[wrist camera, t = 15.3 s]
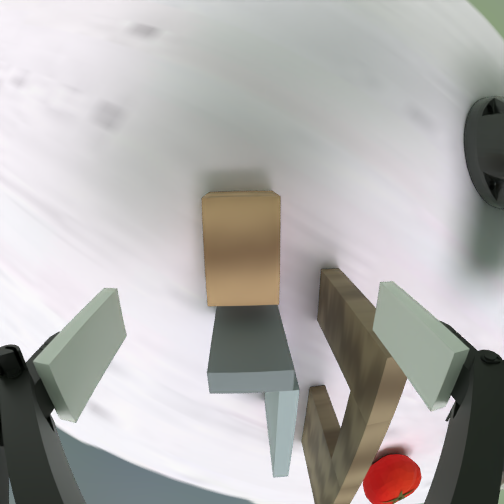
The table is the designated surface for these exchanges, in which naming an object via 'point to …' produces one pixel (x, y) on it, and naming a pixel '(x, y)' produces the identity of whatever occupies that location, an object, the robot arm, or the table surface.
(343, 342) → the wall frame
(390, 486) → the tomato
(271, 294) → the block
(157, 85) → the table surface
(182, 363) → the table surface
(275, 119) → the table surface
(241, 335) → the gate
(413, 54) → the table surface
